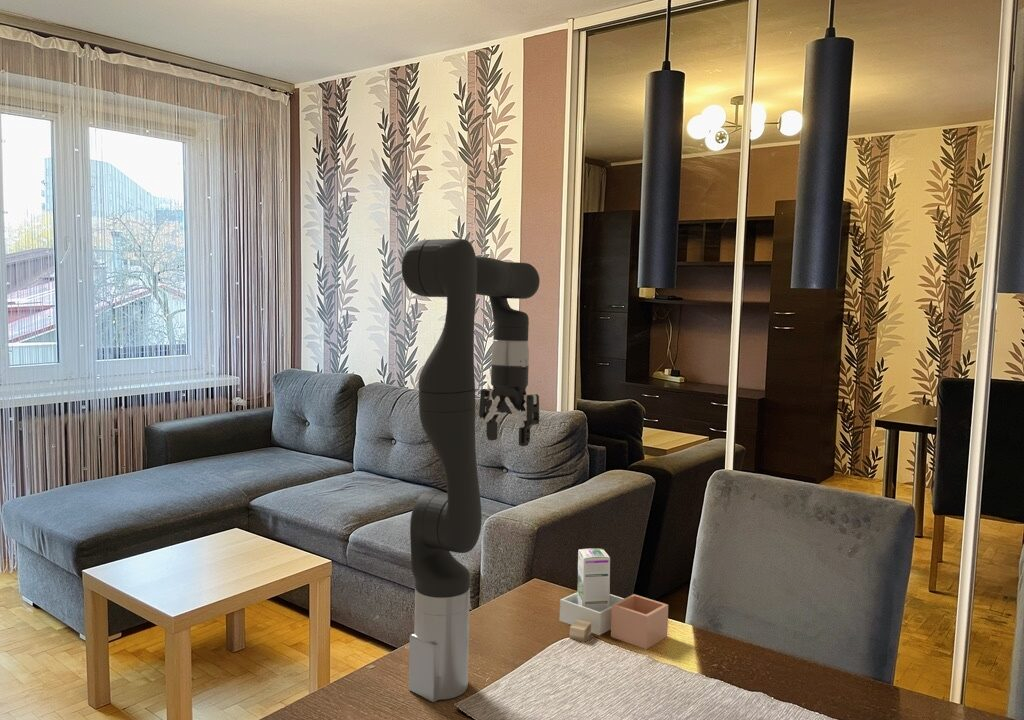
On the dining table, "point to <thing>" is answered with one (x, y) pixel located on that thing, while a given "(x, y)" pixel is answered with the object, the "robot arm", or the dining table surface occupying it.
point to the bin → (587, 613)
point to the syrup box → (593, 579)
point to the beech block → (580, 630)
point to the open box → (639, 621)
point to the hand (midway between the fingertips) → (507, 442)
